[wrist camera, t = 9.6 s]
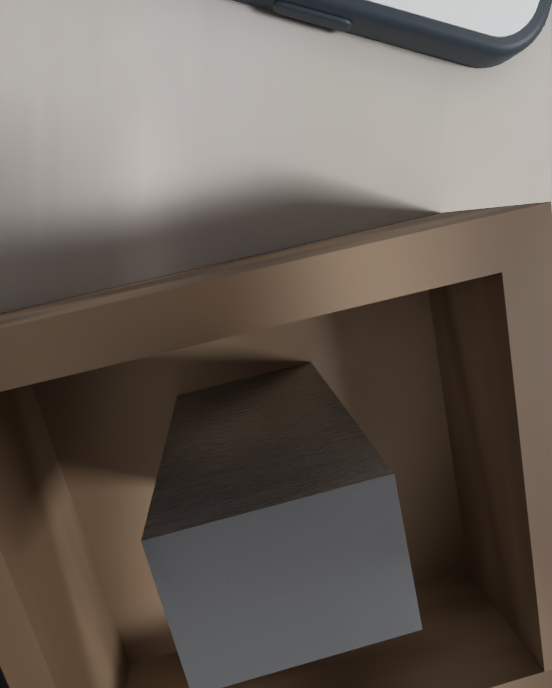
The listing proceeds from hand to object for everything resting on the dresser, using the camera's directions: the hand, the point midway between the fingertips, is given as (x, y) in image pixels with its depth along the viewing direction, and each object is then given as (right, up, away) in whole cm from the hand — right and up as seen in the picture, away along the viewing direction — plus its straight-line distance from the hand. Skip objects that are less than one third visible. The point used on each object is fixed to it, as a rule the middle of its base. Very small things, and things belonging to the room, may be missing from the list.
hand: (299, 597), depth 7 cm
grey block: (-1, 0, +8) cm, 8 cm away
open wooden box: (-1, 0, +9) cm, 9 cm away
